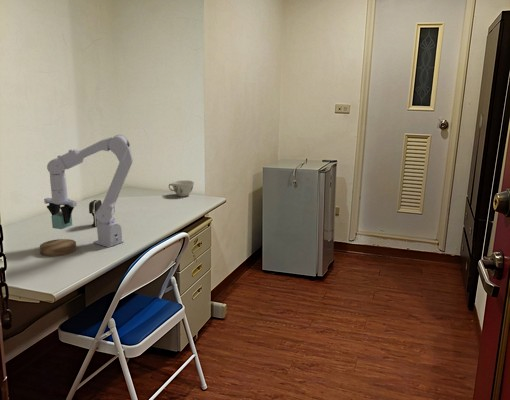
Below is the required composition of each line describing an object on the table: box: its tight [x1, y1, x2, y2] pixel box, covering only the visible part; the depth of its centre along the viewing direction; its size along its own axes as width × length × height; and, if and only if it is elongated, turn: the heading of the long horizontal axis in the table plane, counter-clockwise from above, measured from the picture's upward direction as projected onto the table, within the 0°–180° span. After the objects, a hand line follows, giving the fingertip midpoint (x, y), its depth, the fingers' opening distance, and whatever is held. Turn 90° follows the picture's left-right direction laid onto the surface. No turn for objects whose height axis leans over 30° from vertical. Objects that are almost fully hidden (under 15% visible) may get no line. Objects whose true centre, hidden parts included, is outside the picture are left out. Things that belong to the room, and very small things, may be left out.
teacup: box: [168, 180, 195, 198], centre depth 276 cm, size 15×12×8 cm
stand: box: [39, 238, 77, 257], centre depth 184 cm, size 13×13×2 cm
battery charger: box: [88, 199, 103, 228], centre depth 217 cm, size 7×4×11 cm, turn 176°
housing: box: [51, 210, 73, 230], centre depth 189 cm, size 4×6×6 cm
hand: (62, 222), depth 190 cm, fingers closed on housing, 4 cm apart
